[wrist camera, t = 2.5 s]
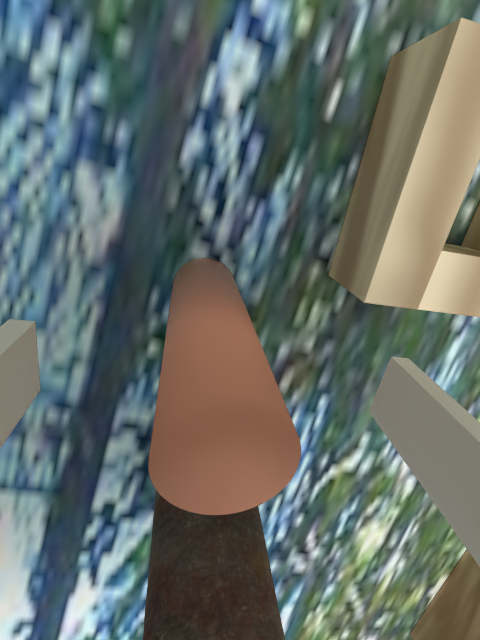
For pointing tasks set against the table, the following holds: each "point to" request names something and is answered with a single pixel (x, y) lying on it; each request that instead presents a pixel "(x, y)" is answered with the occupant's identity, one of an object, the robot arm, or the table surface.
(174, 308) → the peg
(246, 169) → the table surface
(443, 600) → the frame
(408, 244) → the socket block
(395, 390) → the robot arm
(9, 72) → the table surface
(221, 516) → the brown log
